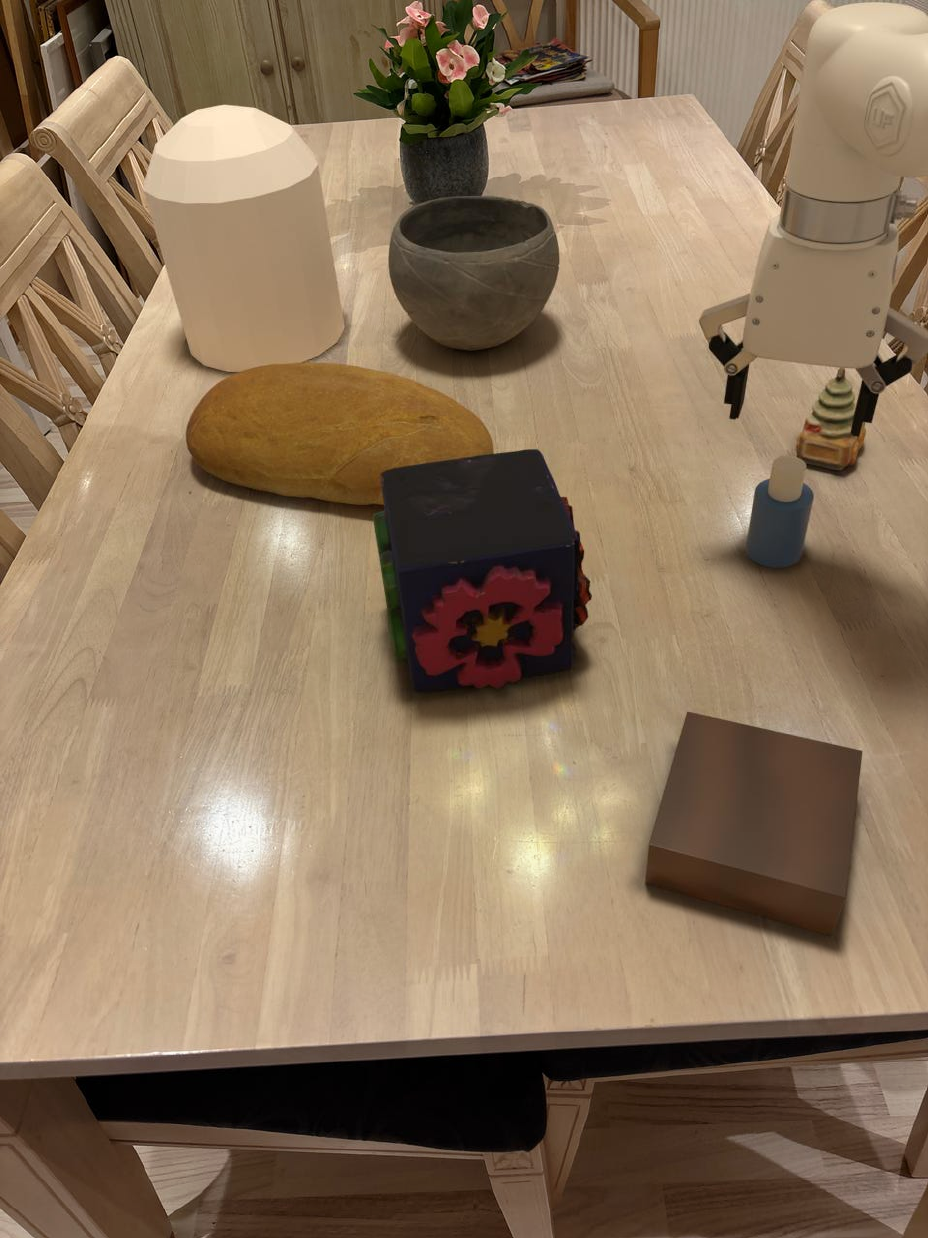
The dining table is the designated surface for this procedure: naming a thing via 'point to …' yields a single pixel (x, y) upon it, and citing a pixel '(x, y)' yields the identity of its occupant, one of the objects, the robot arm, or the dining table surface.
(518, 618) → the decorative cube
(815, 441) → the ornament
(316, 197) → the container
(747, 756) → the block
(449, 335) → the bowl
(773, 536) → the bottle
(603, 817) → the dining table surface
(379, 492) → the bread
